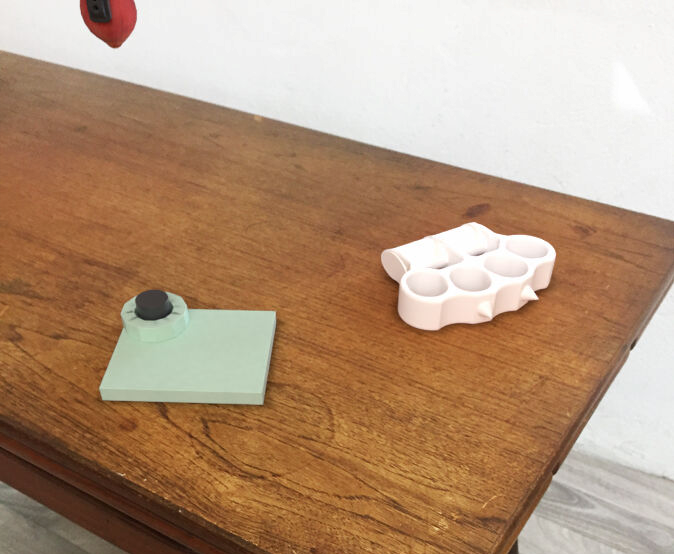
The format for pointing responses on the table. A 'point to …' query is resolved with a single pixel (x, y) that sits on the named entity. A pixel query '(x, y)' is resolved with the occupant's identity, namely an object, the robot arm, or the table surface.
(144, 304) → the button
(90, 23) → the onion
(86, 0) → the robot arm
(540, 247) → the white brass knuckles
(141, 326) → the scale
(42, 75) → the table surface
